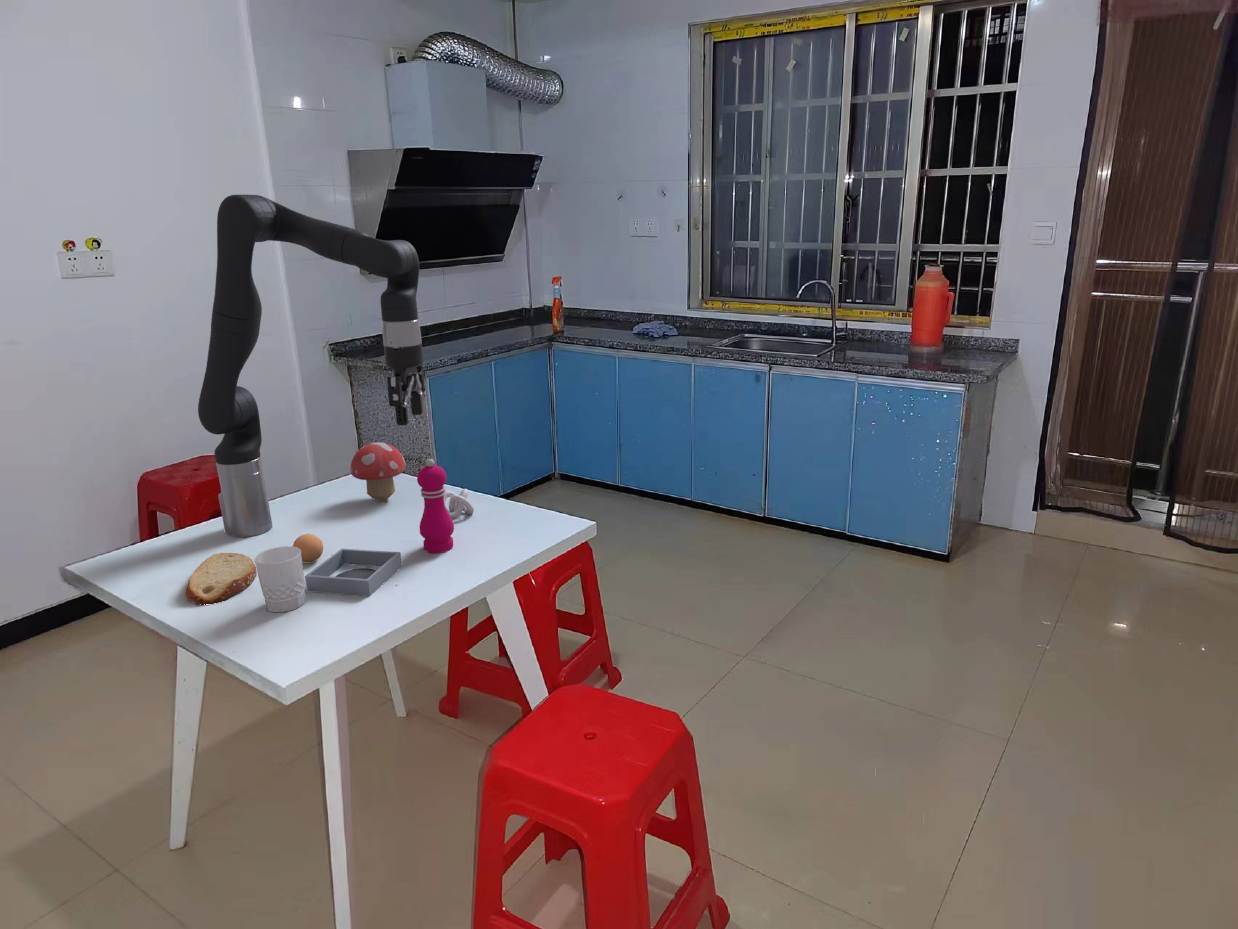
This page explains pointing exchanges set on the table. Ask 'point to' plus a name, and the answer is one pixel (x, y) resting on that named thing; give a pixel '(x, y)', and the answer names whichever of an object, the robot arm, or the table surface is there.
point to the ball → (309, 547)
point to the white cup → (281, 578)
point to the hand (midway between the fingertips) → (410, 419)
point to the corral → (353, 586)
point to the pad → (357, 573)
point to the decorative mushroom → (378, 468)
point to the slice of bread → (220, 578)
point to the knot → (458, 503)
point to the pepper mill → (434, 510)
